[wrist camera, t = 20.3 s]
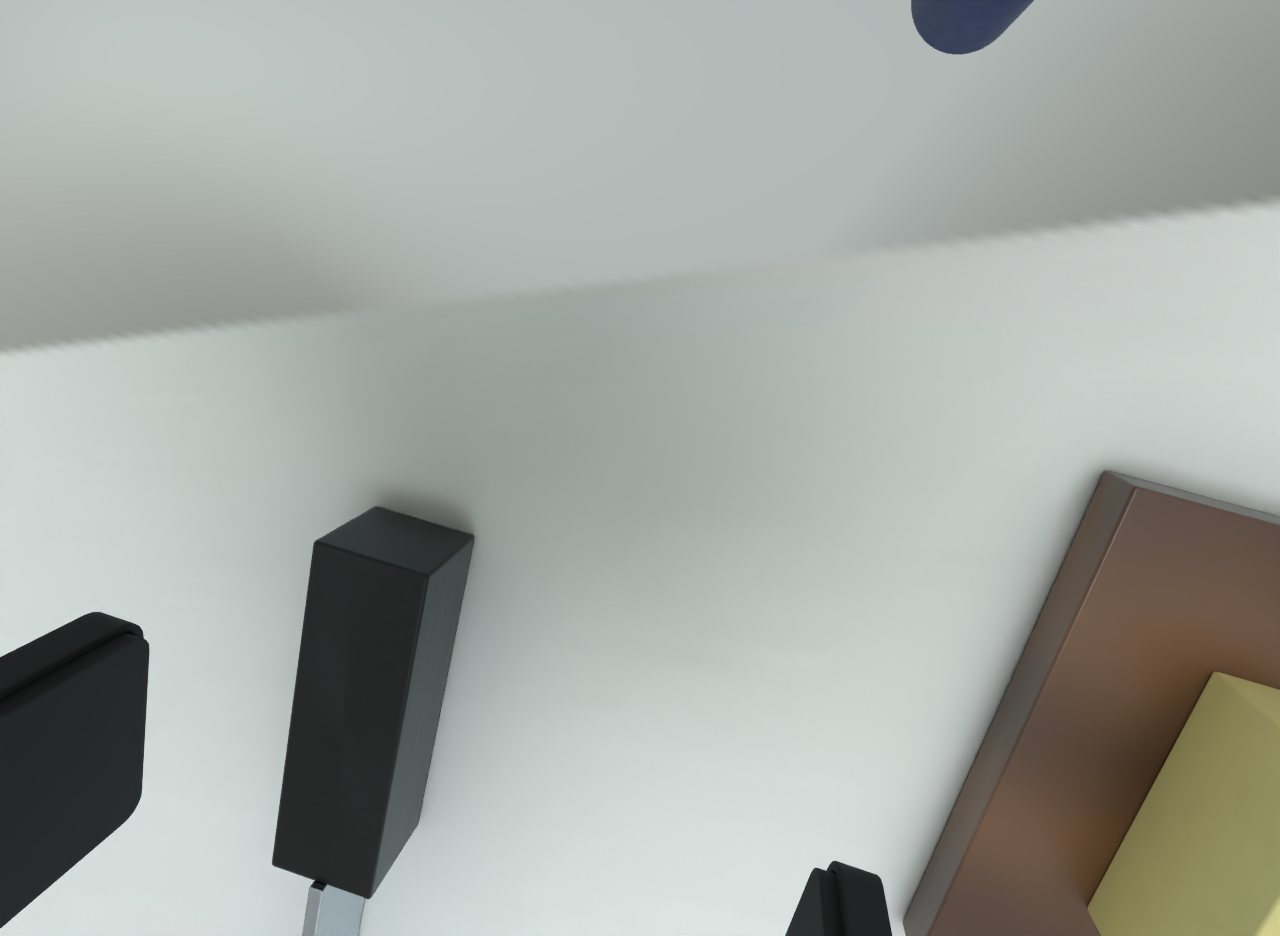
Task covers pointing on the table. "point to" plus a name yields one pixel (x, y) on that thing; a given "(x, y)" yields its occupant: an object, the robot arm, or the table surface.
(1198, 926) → the butter slice
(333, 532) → the knife
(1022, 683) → the board
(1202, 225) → the table surface
